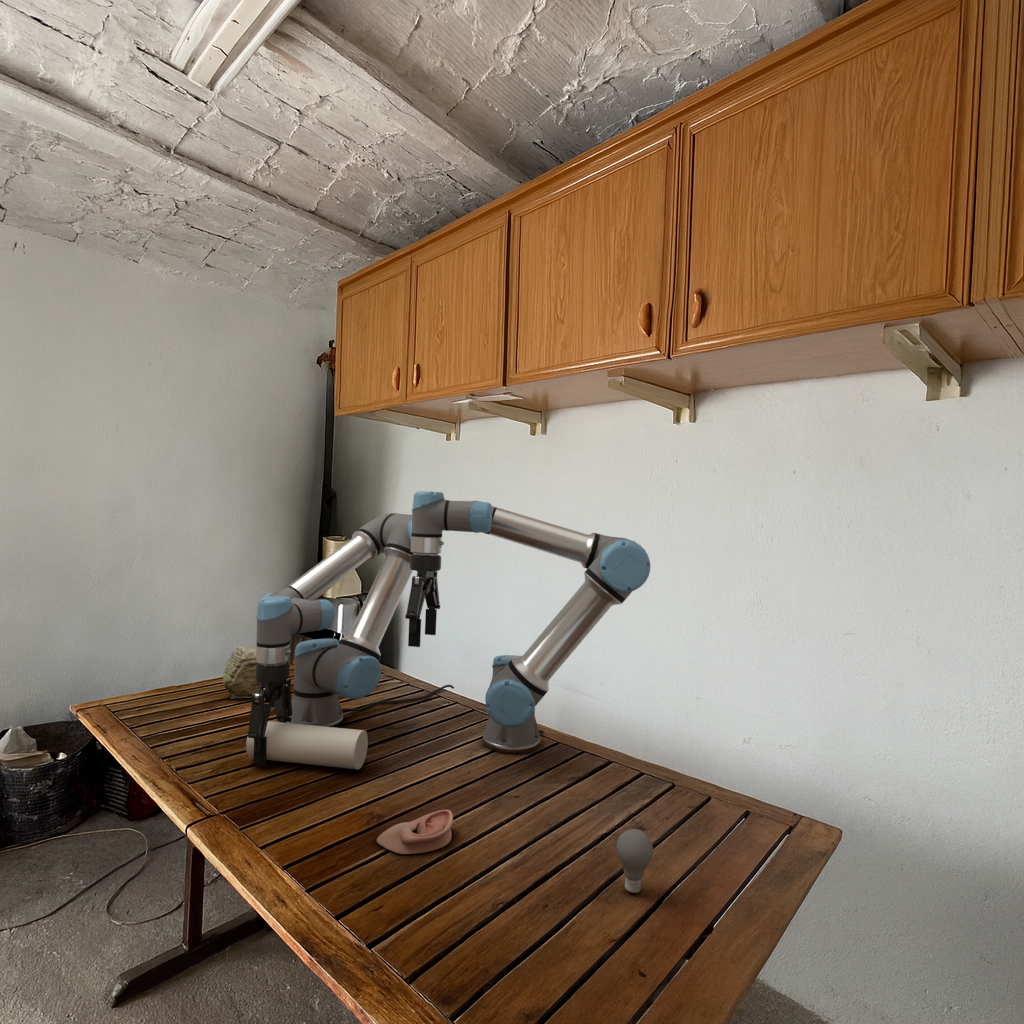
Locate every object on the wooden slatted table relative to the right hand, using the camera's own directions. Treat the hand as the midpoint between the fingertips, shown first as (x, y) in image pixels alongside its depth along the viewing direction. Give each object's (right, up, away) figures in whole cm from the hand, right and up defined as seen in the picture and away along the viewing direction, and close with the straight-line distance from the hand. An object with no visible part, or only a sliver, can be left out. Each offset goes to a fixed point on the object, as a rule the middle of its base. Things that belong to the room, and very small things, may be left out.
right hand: (422, 640), depth 156 cm
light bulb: (+42, -32, -50) cm, 73 cm away
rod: (-26, -28, -6) cm, 39 cm away
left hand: (-36, -27, -5) cm, 45 cm away
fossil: (-59, -26, +42) cm, 77 cm away
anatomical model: (+4, -30, -37) cm, 48 cm away
